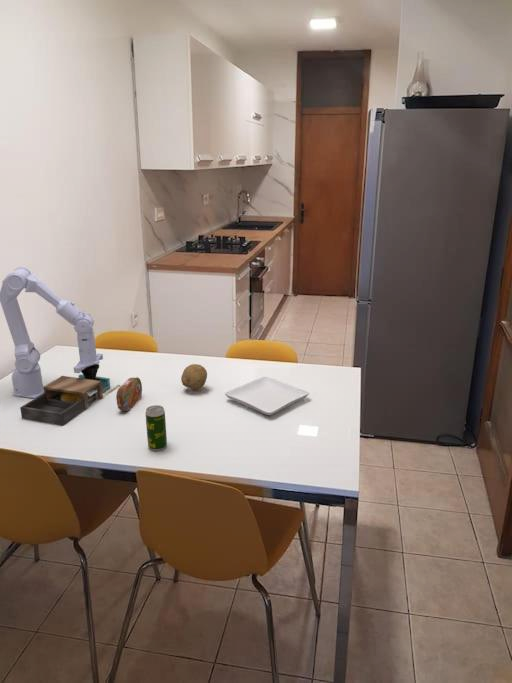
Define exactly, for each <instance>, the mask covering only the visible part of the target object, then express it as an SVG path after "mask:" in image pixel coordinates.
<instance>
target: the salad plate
mask: <svg viewBox="0 0 512 683" xmlns="http://www.w3.org/2000/svg"><path fill="white" fill-rule="evenodd" d="M309 395H310V392H309V391H306V390H304V389H301V388H298V387H297V386H294V385H291V384H288V383H285V382H282V381H279V380H276V379H275V378H272V377H268V376H263V377H260V378H257V379H255V380H252V381H250V382H248V383H247V382H246V383H245V384H243V385H241V386H237V387H236V388H233V389H230V390H228V391H226V392H224V396H225V397H227V398H229V400H231V401H234V402H236V403H238V404H241V405H243V406H246V407H248V408H250V409H252V410H254V411H256V412H259V413H262V414H264V415H266V416H272V415H274V414H276V413H277V412H279V411H282V410H283V409H285V408H287V407H289V406H291V405H293V404H295V403H297V402H299V401H302V400H303V399H305V398H307V397H308V396H309Z"/></svg>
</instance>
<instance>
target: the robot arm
mask: <svg viewBox="0 0 512 683" xmlns="http://www.w3.org/2000/svg"><path fill="white" fill-rule="evenodd" d="M24 289H25V290H24ZM23 290H24V293H35V294H37V295H38V296H39V297H41V298H42V299H44V300H45V301H46V302H48V303H50V304H51V305H52V306H53V307H54V308H55V309H56V310H55V312H56V314H58V315H59V316H60V317H61V318H63V319H64V320H65V321H67V323H69V324H70V325H71V326H73V328H74V331H75V332H76V335H77V336H76V338H77V346H78V347H77V348H78V354H79V361H78V363H76V365H75V366H74V367H73V373H75V374H80V373H81V375H84V377H85V379H89V380H96V377H97V375H98V370H99V369H100V361H101V360H104V354H103V353H97V349H96V348H97V347H96V339H95V332H94V328H93V327H94V322H95V320H94V318H93V316H91V314H89V313H87V312H86V311H82V310H81V309H80V308H79V307H77V306H76V305H75V304H76V302H74V301H71V300H68V299H62V298H61V297H60V296H59V295H58V294H56V293H55V292H54V291H53V290H52V289H51V288H50V287H49V286H48V285H47V284H46V283H45V282H43V281H42V280H41V279H40V278H39V277H38V276H37V275H36V274H34V273H33V272H31V271H30V270H29V269H28V268H26V267H24V266H23V267H22V266H21V267H17V268H15V269H14V270H13V271H12V272H11V273H8V274H7V276H6V277H5V278H4V279H3V280H2V282H1V288H0V305H1V309H2V311H3V314H4V317H5V320H6V323H7V326H8V330H9V333H10V335H11V339H12V340H13V345H14V357H15V362H14V366H15V369H14V370H13V371H12V374H11V382H12V386H13V393H12V396H16V397H21V396H22V397H23V398H29V399H35V398H37V397H38V396H40V395H42V394H43V393H44V389H43V387H44V384H43V383H44V382H43V376H42V370H41V365H40V364H39V362H40V359H41V353H40V351H39V350H38V349H37V348H36V347H35V344H34V342H32V341H31V338H30V335H29V332H28V328H27V326H26V322H25V319H24V316H23V314H22V310H21V307H20V304H19V300H18V296H19V295H20V293H21V292H22V291H23Z"/></svg>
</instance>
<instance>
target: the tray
mask: <svg viewBox="0 0 512 683" xmlns="http://www.w3.org/2000/svg"><path fill="white" fill-rule="evenodd" d="M96 386H97V387H96ZM117 387H118V388H120V387H121V384H116V385H115V386H114V387H111V389H108V390H107V391H106V392H104V394H103V393H102V385H101V381H97V380H89V379H82V378H79V377H74V376H73V377H72V376H67V375H61V376H60V377H58V378H56V379H54V380H53V381H50V382H49V383H47V384H45V385H43V389H44V393H43V394H41V395H40V396H38V397H36V398H32V400H30V401H29V402H27V403H25V404H23V405H22V406H20V408H19V409H20V414H21V415H20V416H21V419H22V420H28V421H33V422H39V423H45V424H50V425H51V424H52V425H56V426H57V425H58V426H65V425H66V424H68V423H69V422H71V421H72V420H73V419H75V418H76V417H77V416H79V415H80V414H82V413H83V412H84V411H86V410H88V404H87V398H86V393H87V394H88V393H89V392H91V391H92V390H93V389H95V388H96V392H97V395H98V397H97V399H98V400H102V399H104V398H106V397H107V396H108V395H110V394H111V393H112V392H114V391H115V390H117V389H118V388H117ZM116 388H117V389H116ZM113 390H114V391H113ZM63 392H67V393H74V394H81V400H79V401H78V402H76V403H75V404H73V405H72V406H70V407H69V408H63V407H57V406H50V405H48V402H47V399H53V398H54V397H56V396H58V395H59V394H61V393H63ZM109 393H110V394H109Z"/></svg>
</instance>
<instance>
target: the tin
mask: <svg viewBox="0 0 512 683" xmlns="http://www.w3.org/2000/svg"><path fill="white" fill-rule="evenodd" d="M142 392H143V385H142V381H141V379H140V378H139V377H137V376H136V377H130V378H128V379H127V380H125V381H124V382H123V383H122V384H121V385H120V386H119V387H118V388H117V391H116V398H115V400H116V404H117V409H118V410H119V411H122V412H124V411H125V412H129V411H131V410H132V409H131V408H134V406H136V404H137V403H138V402H140V400H141V399H142V398H141V397H142Z"/></svg>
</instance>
